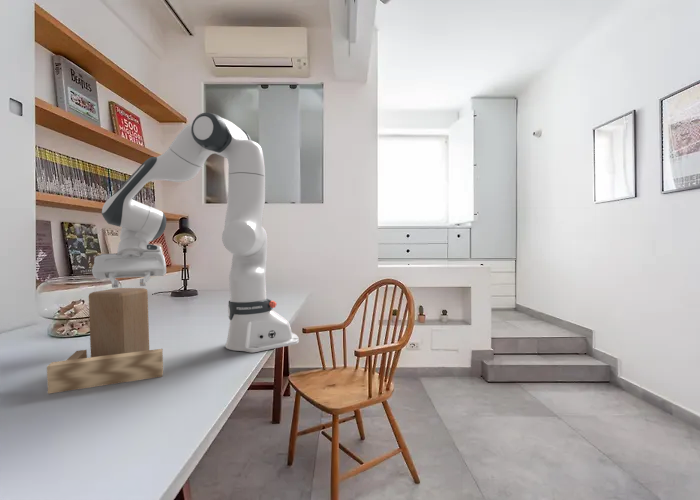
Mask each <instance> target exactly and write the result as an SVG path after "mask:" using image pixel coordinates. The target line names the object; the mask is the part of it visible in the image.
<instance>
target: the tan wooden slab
mask: <svg viewBox="0 0 700 500" xmlns="http://www.w3.org/2000/svg"><path fill="white" fill-rule="evenodd" d="M87 351H88V350H87V349H82V350H81V349H80V350H76V351H75V352H74V353H73V354H72V355H70V356H69V357H68V358H67V359H66V360H60V361H51V362H50V363H49V364H48V365H47V366H46V377H47V394H49V395H50V394H56V393H61V392H67V391H74V390H75V391H76V390H83V389H89V388H94V387H95V388H96V387H102V386H109V385H116V384H122V383H129V382H135V381H136V382H137V381H141V380H147V379H155V378H162V377H163V376H164V375H163V374H164V356H163V355H164V354H163V351H164V350H163V348H158V349H149V350H147V351H139V352H131V353H123V354H115V355H107V356H99V357H91V356H90V357H88V354H87V353H88V352H87Z"/></svg>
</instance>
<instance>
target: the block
mask: <svg viewBox="0 0 700 500" xmlns="http://www.w3.org/2000/svg"><path fill="white" fill-rule="evenodd" d="M148 293H149V292H148V289H146V288H144V287H118V288H110V289H103V290H98V291H92V292H90V293H88V314H89V340H90V342H89V343H90V357H99V356H107V355H115V354H123V353H131V352H139V351H147V350H150V330H149V329H150V327H149V325H150V324H149V297H148V295H149V294H148Z"/></svg>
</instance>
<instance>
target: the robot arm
mask: <svg viewBox="0 0 700 500" xmlns="http://www.w3.org/2000/svg"><path fill="white" fill-rule="evenodd" d="M213 154H215V155H218V156H220V157H223V158H225V159H226V160H227V163H228V174H227V175H228V179H227V180H228V184H227V185H228V187H227V190H228V192H227V193H228V194H227V195H228V196H227V207H226V212H225V219H224V225H223V226H224V227H223V231H222V233H221V240H222V244H223V246H224V248H225V249H226V250H227V251H228V252H229V253H230V254H231V255H232V258H231V267H230V271H229V275H228V276H229V277H228V279H229V280H228V281H229V300H228V304H227V311H228V312H227V316H228V319H229V324H228V326H229V327H228V334H227V338H226V343H225V349H227V350H230V351H238V352H239V351H240V352H246V353H257V352H262V351H269V350H272V349H278V348H283V347H289V346H294V345H297V344H299V342H300V340H299V338H300V337H299V336H298V335H297V334H296V333H295V332H292V328H291V325H290V322H289V321H288V320H287V319H286V318H285V317H284V316H282V315H281V314H279V313H278V312H276V311H275V310H274V308H276V307H277V302H276V301H275V300H272V299H269V298H267V261H268V242H269V241H268V238H269V237H268V234H267V233H268V232H267V231H266V229H265V228H264V227H263V220H264V209H265V203H266V166H265V157H264V152H263V149H262V147H261V145H260V144H259V143H258V142H256V141H254V140H252V139H251V136H250V135H249V134H248V133H247V132H246V131H245V130H244V129H241V128H240V127H239V126H237V125H236V124H235V123H234V122H232V121H230V120H229V119H227V118H224V117H222V116H220V115H219V114H216V113H211V112H202V113H200V114H197V116H196V117H194V120H193V121H192V123H189V124H187V125H186V126H184V128H183V129H182V130H181V131H179V133H177V135H176V136H175V138H174V140H173V141H172V142H171V144H170V146H169V147H168V149H167V150H166V151H165V152H163V153H162V154H160V155H158V156H151V157H149V158H147V159H146V160H145V161H144V162H143V163H142V164H140V166H139V167H138V168H137V169H136V170H134V172H133V173H132V174H131V175H130V177H128V179H127V180H126V181H125V182H124V183H123V184H122V185H121V186H120V188H119V189H117V190H116V191H115V192H114V193H113V194H112V195H111V196H110V197H108V198H107V199H106V201H105V202H104V204H103V205H102V210H101V215H102V217H103V219H104V221H106V223H107V224H108V225H111V226H112V225H113V226H114V227H115V226H116V227H121V229H120V234H119V242H118V245H117V246H118V247H117V253H101V254H99V255H96V256H95V257H94V260H93V263H94V264H93V266H92V269H91V273H92V276H93V278H95V279H96V280H100V279H101V280H103V279H109V281H110V282H111V287H112V288H111V289H115V288H119V285H120V283H119V280H118V279H123V278H125V279H126V278H140V279H139V285H140V286H139V287H146V285H147V283H148V281H149V280H150V279H151V277H164V276H165V275H166V274H167V264H166V258H165V255H164V254H163V249H162V247H161V246H160V245H157V244H151V243H150V242H153V241H155V240H157V239H158V238H160V237H161V236H162V235H163V234H164V233H165V230H166V225H167V217H166V215H165V212H163V210H162V211H161V210H160V209H158V208H155V207H153V206H149V205H148V204H145V203H143V202H139V201H137V200H136V199H135V200H134V199H133V198H135V196H136V195H137V194H138V193H139V192H140V191H141V190H142V189H143V188H144V186H145V185H146V184H147V183H149V182H153V181H168V182H174V183H184V182H189V181H191V180H193V179H194V178H195V177H197V175H198V174H199V172H200V171H201V170H202V168H203V166H204V165H205V162H206V161H207V160H208V158H209V157H210V156H212V155H213Z"/></svg>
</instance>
